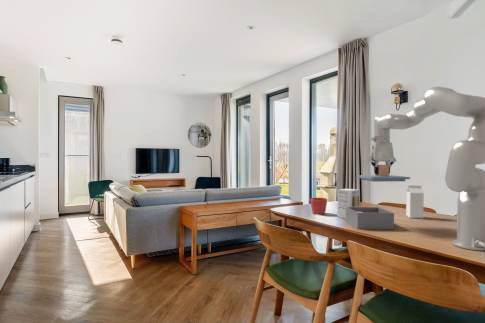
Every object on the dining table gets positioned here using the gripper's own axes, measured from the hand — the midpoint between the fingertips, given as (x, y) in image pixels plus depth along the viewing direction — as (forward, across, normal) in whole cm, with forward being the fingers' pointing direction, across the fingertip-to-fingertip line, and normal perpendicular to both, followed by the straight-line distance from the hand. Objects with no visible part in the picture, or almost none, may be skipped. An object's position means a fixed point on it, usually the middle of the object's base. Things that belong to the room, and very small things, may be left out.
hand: (382, 174), depth 159 cm
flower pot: (+27, -25, +33) cm, 49 cm away
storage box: (+27, -7, +1) cm, 28 cm away
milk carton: (+27, +30, +22) cm, 46 cm away
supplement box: (+27, -10, +21) cm, 36 cm away
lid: (+3, 0, 0) cm, 3 cm away
